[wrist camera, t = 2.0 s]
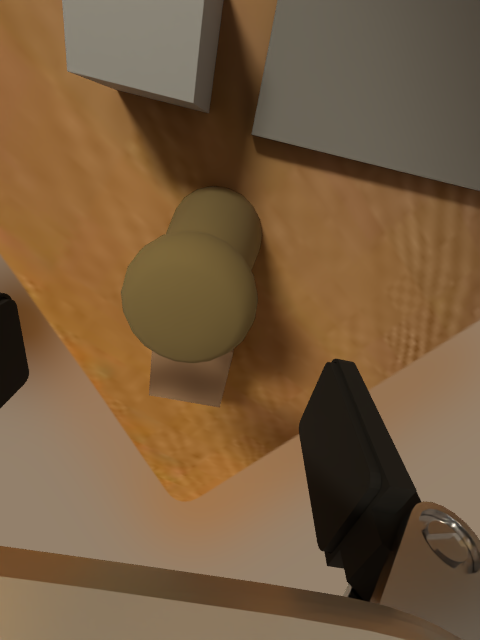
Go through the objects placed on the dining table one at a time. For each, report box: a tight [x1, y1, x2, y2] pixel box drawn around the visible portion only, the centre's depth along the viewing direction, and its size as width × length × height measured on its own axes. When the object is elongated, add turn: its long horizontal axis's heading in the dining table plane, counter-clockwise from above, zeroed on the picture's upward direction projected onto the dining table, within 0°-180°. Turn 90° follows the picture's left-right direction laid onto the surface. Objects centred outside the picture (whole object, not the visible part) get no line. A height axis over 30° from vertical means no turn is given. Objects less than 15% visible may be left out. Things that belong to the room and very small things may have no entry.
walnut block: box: [149, 349, 234, 407], centre depth 22 cm, size 5×5×5 cm
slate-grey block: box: [62, 0, 224, 113], centre depth 13 cm, size 5×5×5 cm
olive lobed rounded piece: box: [121, 186, 262, 363], centre depth 15 cm, size 6×6×11 cm
